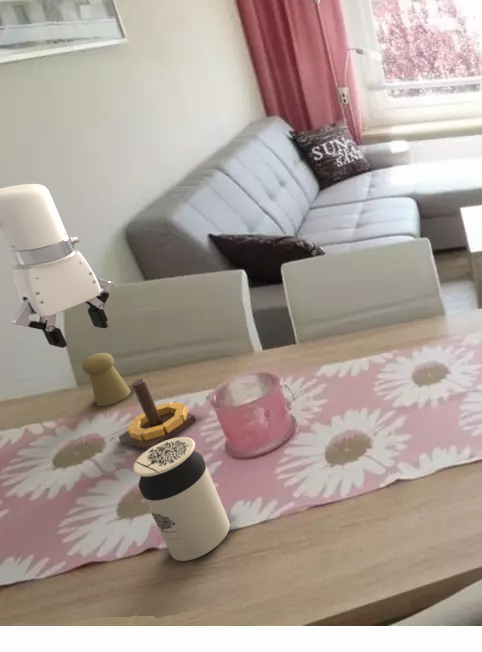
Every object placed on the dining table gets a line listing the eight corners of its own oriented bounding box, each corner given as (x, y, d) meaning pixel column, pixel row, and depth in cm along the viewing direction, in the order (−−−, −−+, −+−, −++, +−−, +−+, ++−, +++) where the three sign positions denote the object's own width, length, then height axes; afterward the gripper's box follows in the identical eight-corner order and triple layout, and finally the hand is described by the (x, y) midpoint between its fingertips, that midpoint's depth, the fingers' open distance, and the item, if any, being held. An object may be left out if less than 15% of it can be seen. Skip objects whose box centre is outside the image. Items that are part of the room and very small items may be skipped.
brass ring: (152, 444, 105) (149, 437, 105) (120, 435, 108) (117, 429, 107) (197, 412, 114) (195, 406, 113) (166, 405, 116) (163, 399, 116)
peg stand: (152, 451, 106) (129, 400, 101) (121, 442, 108) (97, 392, 104) (196, 420, 113) (176, 372, 109) (166, 412, 116) (145, 365, 111)
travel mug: (215, 510, 92) (181, 428, 85) (240, 530, 88) (206, 446, 82) (162, 547, 86) (120, 462, 79) (186, 571, 82) (144, 484, 75)
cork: (98, 410, 118) (78, 368, 114) (94, 398, 122) (75, 358, 118) (132, 396, 122) (114, 355, 118) (128, 385, 126) (110, 345, 122)
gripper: (85, 232, 106) (117, 311, 113) (-33, 269, 91) (12, 358, 97) (111, 236, 104) (142, 316, 110) (-6, 275, 88) (38, 365, 95)
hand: (81, 335), depth 104 cm, fingers open, 6 cm apart
